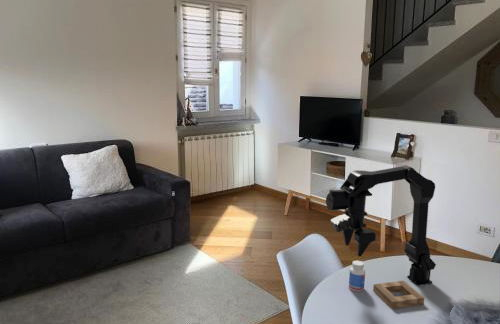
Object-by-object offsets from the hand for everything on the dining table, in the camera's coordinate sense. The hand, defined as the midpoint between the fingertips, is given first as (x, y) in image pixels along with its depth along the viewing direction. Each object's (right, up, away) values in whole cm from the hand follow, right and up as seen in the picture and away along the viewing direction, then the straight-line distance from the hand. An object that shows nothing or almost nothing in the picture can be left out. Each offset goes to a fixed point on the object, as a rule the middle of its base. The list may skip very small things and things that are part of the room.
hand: (353, 250), depth 152 cm
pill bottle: (+2, -14, +4) cm, 15 cm away
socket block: (+15, -16, -2) cm, 22 cm away
